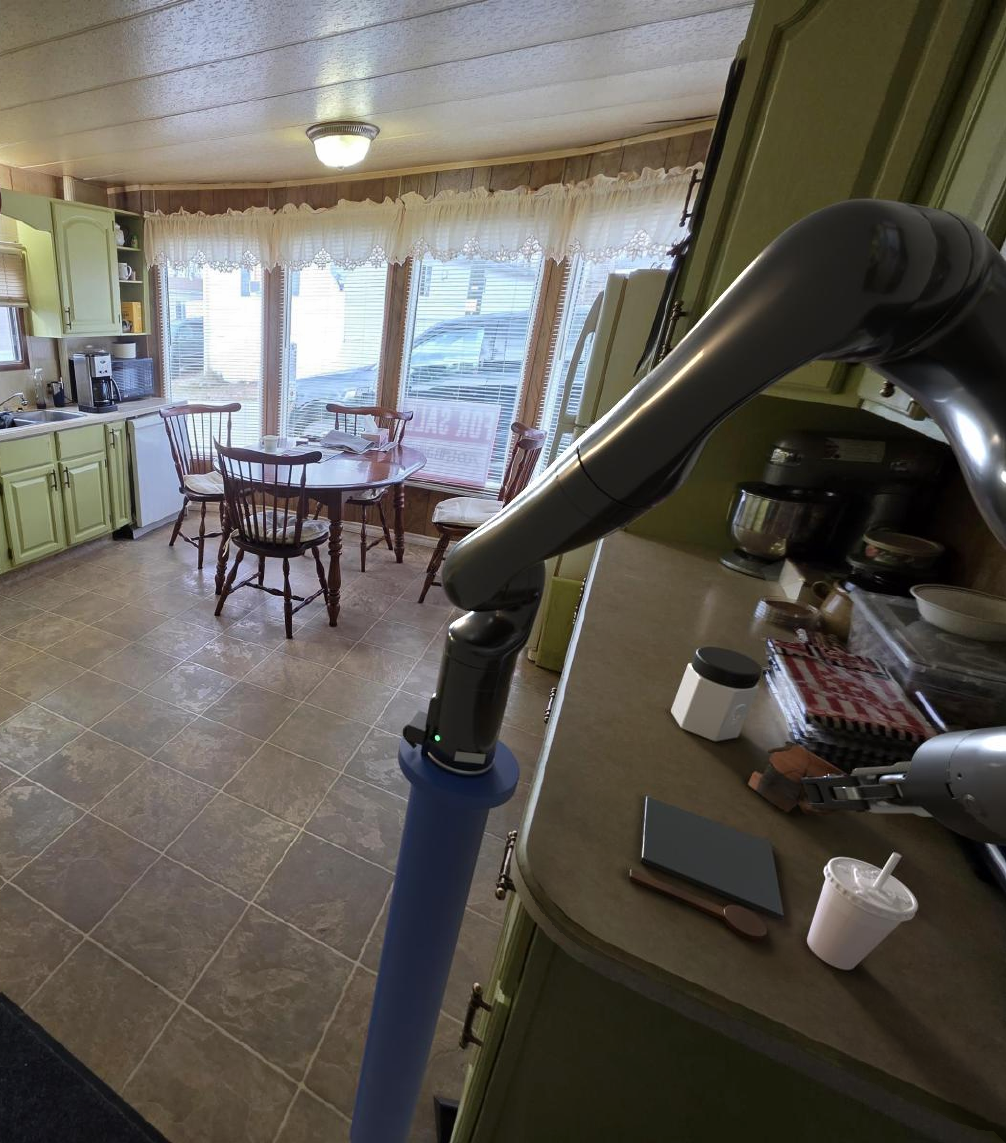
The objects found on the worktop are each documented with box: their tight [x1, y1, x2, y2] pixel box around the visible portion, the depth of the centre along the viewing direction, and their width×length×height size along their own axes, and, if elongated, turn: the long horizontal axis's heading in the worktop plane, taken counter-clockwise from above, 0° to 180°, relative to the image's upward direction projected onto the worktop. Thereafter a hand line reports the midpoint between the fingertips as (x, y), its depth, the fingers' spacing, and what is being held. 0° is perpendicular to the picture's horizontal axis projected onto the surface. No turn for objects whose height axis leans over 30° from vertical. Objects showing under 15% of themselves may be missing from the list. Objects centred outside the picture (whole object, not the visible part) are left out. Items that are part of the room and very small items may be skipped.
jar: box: [670, 646, 763, 742], centre depth 94 cm, size 9×8×12 cm
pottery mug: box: [747, 740, 847, 817], centre depth 80 cm, size 12×10×8 cm
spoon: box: [628, 868, 768, 942], centre depth 66 cm, size 12×4×1 cm, turn 56°
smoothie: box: [806, 852, 919, 971], centre depth 59 cm, size 6×6×14 cm
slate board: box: [640, 796, 785, 921], centre depth 72 cm, size 13×12×1 cm
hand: (875, 787), depth 53 cm, fingers open, 8 cm apart
